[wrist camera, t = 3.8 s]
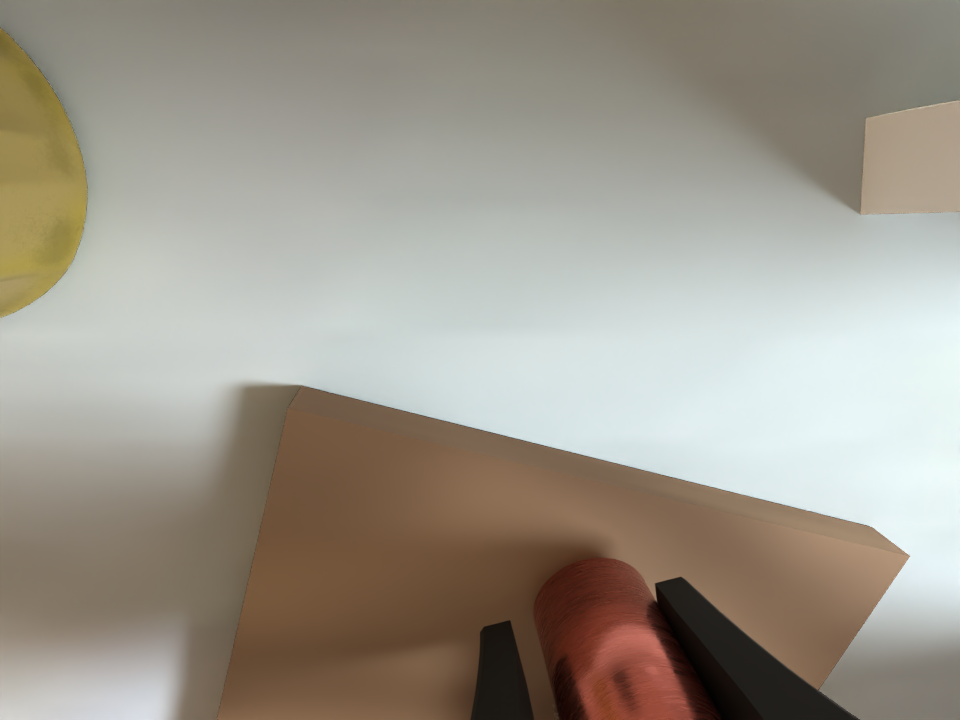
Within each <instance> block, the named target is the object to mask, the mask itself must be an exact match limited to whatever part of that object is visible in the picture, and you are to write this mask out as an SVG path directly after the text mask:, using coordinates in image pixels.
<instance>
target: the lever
mask: <svg viewBox="0 0 960 720" xmlns="http://www.w3.org/2000/svg"><path fill="white" fill-rule="evenodd" d="M533 615H534V622H535V626H536V629H537V633H538V637H539V641H540V645H541V649H542V653H543V657H544V661H545V665H546V669H547V673H548V677H549V681H550V685H551V689H552V693H553V697H554V701H555V704H553V710H554V715H555V720H722V718H721V716H720V714H719V713H718V711H717V709H716V707H715V705H714V704H713V702H712V700H711V698H710V697H709V695H708V693H707V691H706V689H705V688H704V686H703V684H702V682H701V680H700V679H699V677H698V675H697V673H696V671H695V670H694V668H693V666H692V664H691V663H690V661H689V659H688V657H687V655H686V654H685V652H684V650H683V648H682V646H681V645H680V643H679V641H678V639H677V638H676V636H675V634H674V632H673V630H672V629H671V627H670V625H669V623H668V621H667V620H666V618H665V616H664V614H663V612H662V611H661V609H660V607H659V605H658V604H657V602H656V600H655V598H654V596H653V595H652V593H651V591H650V589H649V587H648V586H647V584H646V582H645V580H644V578H643V577H642V575H641V574H640V573H639V572H638V571H637V570H636V569H635V568H634V567H632V566H631V565H629V564H627V563H625V562H623V561H620V560H616V559H611V558H590V559H584V560H581V561H577V562H575V563H572V564H570V565H568V566H566V567H564V568H562V569H561V570H559V571H558V572H556V573H555V574H554V575H553V576H551V577H550V578H549V579H548V580H547V581H546V582H545V584H544V585H543V586H542V588H541V589H540V591H539V593H538V595H537V597H536V600H535V603H534V609H533Z"/></svg>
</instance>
